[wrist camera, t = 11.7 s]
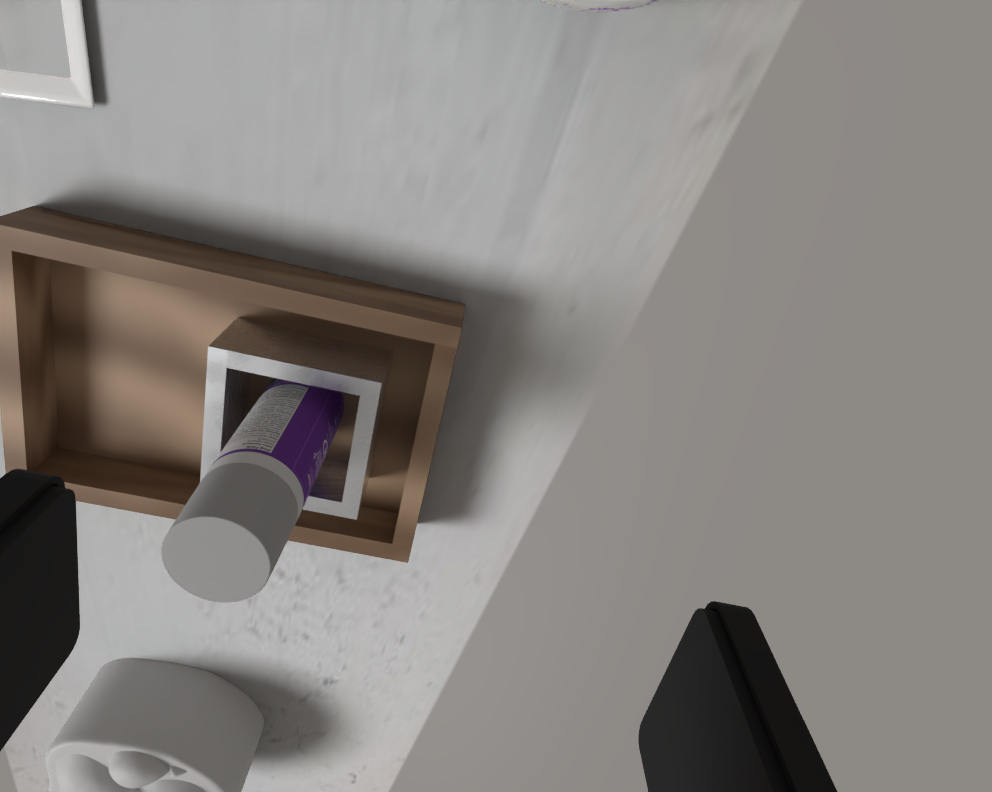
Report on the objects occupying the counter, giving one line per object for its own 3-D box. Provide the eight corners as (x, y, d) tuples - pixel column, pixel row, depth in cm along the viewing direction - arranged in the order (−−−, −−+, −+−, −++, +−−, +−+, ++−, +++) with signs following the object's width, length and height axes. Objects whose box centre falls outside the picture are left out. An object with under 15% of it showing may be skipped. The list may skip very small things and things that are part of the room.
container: (354, 427, 42) (287, 598, 29) (281, 438, 43) (181, 611, 29) (334, 358, 40) (253, 507, 27) (258, 370, 41) (140, 522, 27)
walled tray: (33, 206, 37) (-16, 221, 34) (464, 303, 40) (461, 328, 36) (46, 453, 44) (7, 488, 41) (414, 524, 47) (407, 562, 43)
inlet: (237, 316, 39) (208, 346, 35) (393, 350, 40) (381, 383, 36) (227, 449, 43) (199, 489, 39) (369, 477, 44) (356, 519, 40)
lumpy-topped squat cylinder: (99, 648, 52) (29, 752, 44) (272, 681, 53) (234, 787, 45) (96, 739, 56) (32, 848, 48) (256, 767, 58) (218, 877, 50)
